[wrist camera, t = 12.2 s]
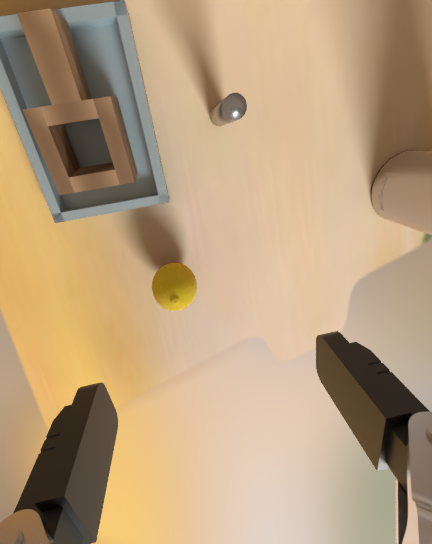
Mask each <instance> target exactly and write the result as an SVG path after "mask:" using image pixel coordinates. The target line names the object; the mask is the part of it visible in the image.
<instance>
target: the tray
mask: <svg viewBox="0 0 432 544" xmlns="http://www.w3.org/2000/svg"><path fill="white" fill-rule="evenodd" d="M52 10H53V11H54V12H56V13H57V14H58V15H59V16H61V17H62V18H63V19H64V20H66V21H67V22H68V26H69V29H70V32H71V35H72V38H73V41H74V45H75V48H76V51H77V54H78V57H79V60H80V64H81V67H82V70H83V73H84V76H85V79H86V83H87V86H88V89H89V92H90V95H91V99H95V98H102V97H108V96H116V97H117V98H118V102H119V106H120V109H121V113H122V117H123V120H124V124H125V128H126V131H127V135H128V139H129V142H130V146H131V150H132V153H133V157H134V161H135V164H136V168H137V172H138V173H137V176H136V179H135V182H133V183H128V184H122V185H116V186H110V187H105V188H99V189H93V190H87V191H81V192H76V193H70V194H64V195H59V193H58V190H57V188H56V186H55V183H54V181H53V179H52V176H51V174H50V172H49V170H48V167H47V165H46V163H45V160H44V158H43V156H42V154H41V151H40V149H39V147H38V144H37V142H36V140H35V138H34V135H33V133H32V131H31V128H30V126H29V124H28V122H27V119H26V117H25V115H24V112H23V109H29V108H36V107H42V106H49V105H52V104H51V101H50V99H49V96H48V94H47V91H46V88H45V86H44V83H43V80H42V78H41V75H40V73H39V70H38V67H37V65H36V62H35V60H34V57H33V54H32V52H31V49H30V47H29V44H28V41H27V39H26V36H25V34H24V31H23V28H22V26H21V23H20V21H19V18H18V15H17V14H14V15H6V16H0V89H1V91H2V94H3V96H4V99H5V101H6V103H7V106H8V108H9V111H10V113H11V116H12V118H13V121H14V123H15V126H16V128H17V130H18V133H19V135H20V138H21V140H22V143H23V145H24V148H25V150H26V153H27V155H28V157H29V160H30V162H31V165H32V167H33V170H34V172H35V175H36V177H37V180H38V182H39V184H40V187H41V189H42V192H43V194H44V197H45V199H46V202H47V204H48V206H49V209H50V211H51V214H52V216H53V219H54V221H55V223H58V222H63V221H69V220H75V219H80V218H86V217H91V216H97V215H102V214H108V213H113V212H119V211H124V210H130V209H135V208H141V207H146V206H152V205H157V204H163V203H168V202H169V196H168V191H167V186H166V182H165V177H164V173H163V168H162V164H161V159H160V155H159V150H158V146H157V141H156V136H155V132H154V127H153V123H152V118H151V114H150V109H149V105H148V100H147V95H146V91H145V86H144V82H143V77H142V73H141V68H140V64H139V59H138V55H137V50H136V45H135V41H134V36H133V32H132V27H131V23H130V18H129V14H128V10H127V7H126V4H125V1H124V0H120V1H113V2H105V3H98V4H90V5H82V6H75V7H67V8H60V9H52ZM64 127H65V129H66V132H67V135H68V137H69V140H70V143H71V145H72V148H73V150H74V153H75V156H76V158H77V161H78V164H79V166H80V168H83V167H89V166H95V165H101V164H107V163H113V162H112V159H111V155H110V152H109V149H108V146H107V143H106V139H105V136H104V133H103V130H102V127H101V123H100V120H99V118H97V119H91V120H84V121H78V122H72V123H65V124H64Z"/></svg>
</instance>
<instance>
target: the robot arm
mask: <svg viewBox="0 0 432 544" xmlns="http://www.w3.org/2000/svg"><path fill="white" fill-rule="evenodd" d="M371 194H372V204H373V207H374V209H375V211H376V212H377V213H378V215H379V216H381V217H383V218H384V219H387V220H390V221H393V222H396V223H399V224H401V225H404V226H407V227H410V228H412V229H415V230H418V231H421V232H424V233H427V234H430V235H432V151H406V152H403V153H400V154H398V155H396V156H395V157H393V158H392V159H390V160H389V161H388V162H387V163H386V164H385V165H384V166H383V167H382V169H381V170H380V171H379V173H378V175H377V177H376V178H375V181H374V184H373V188H372V193H371ZM316 368H317V373H318V376H319V378H320V380H321V383H322V384H323V385H324V387H325V389H326V390H327V392H328V394H329V395H330V397H331V398H332V400H333V402H334V403H335V405H336V406H337V408H338V410H339V411H340V413H341V414H342V416H343V417H344V419H345V421H346V422H347V424H348V425H349V427H350V429H351V430H352V432H353V433H354V435H355V436H356V438H357V439H358V441H359V443H360V444H361V446H362V447H363V449H364V451H365V452H366V454H367V456H368V457H369V459H370V460H371V462H372V463H373V465H374V466H375V468H376V470H377V471H380V470H383V469H388V468H390V469H391V471H392V472H393V474H394V475H395V477H396V544H432V412H430V411H429V410H428V409H427V408H426V407H425V406H424V405H423V404H422V403H421V402H420V401H419V400H418V399H417V398H416V397H415V396H414V395H413V394H412V393H411V392H410V391H409V390H408V389H407V388H406V387H405V386H404V385H403V384H402V382H400V380H399V379H398V378H397V377H396V376H395V375H394V374H393V373H392V372H390V371H389V369H388V368H387V367H386V366H385V365H384V364H383V363H381V361H380V360H379V359H378V358H377V357H376V356H375V355H374V354H373V353H372V352H371V351H370V350H369V349H367V348H366V347H364V346H362V345H360V344H359V343H357V342H354V343H349V342H348V341H347V340H346V339H345V338H344V337H343V335H342V334H341V333H339V332H338V331H336V332H332V333H327V334H322V335H318V336H317V338H316ZM117 428H118V418H117V413H116V410H115V407H114V405H113V403H112V401H111V398H110V396H109V394H108V392H107V389H106V387H105V385H104V384H103V383H97V384H93V385H88V386H84V387H80V388H79V389H78V390H77V393H76V395H75V398H74V400H73V403H72V405H69V406H65V407H64V408H63V409H62V411H61V412H60V413H59V414H58V416H57V417H56V418H55V419H54V421H53V422H52V425H51V427H50V429H49V432H48V434H47V439H46V440H45V441H44V444H43V446H42V448H41V453H40V454H39V455H38V458H37V460H36V462H35V465H34V467H33V469H32V472H31V474H30V476H29V479H28V481H27V483H26V486H25V488H24V490H23V493H22V495H21V497H20V500H19V502H18V504H17V507H16V509H15V511H14V513H13V514H12V515H10V516H8V517H7V518H6V519H4V520H3V521H2V522H1V523H0V544H91V543H94V542H96V540H97V534H98V529H99V524H100V518H101V513H102V508H103V503H104V497H105V492H106V487H107V481H108V476H109V471H110V466H111V460H112V455H113V450H114V445H115V439H116V434H117Z"/></svg>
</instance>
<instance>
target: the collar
mask: <svg viewBox="0 0 432 544" xmlns="http://www.w3.org/2000/svg"><path fill="white" fill-rule="evenodd" d="M17 15H18V18H19V21H20V23H21V26H22V28H23V31H24V34H25V36H26V39H27V41H28V44H29V47H30V49H31V52H32V54H33V57H34V60H35V62H36V65H37V67H38V70H39V73H40V75H41V78H42V80H43V83H44V86H45V88H46V91H47V94H48V96H49V99H50V101H51V104H52V105H49V106H42V107H36V108H29V109H23V112H24V115H25V117H26V119H27V122H28V124H29V126H30V128H31V131H32V133H33V135H34V138H35V140H36V142H37V144H38V147H39V149H40V151H41V154H42V156H43V158H44V160H45V163H46V165H47V167H48V170H49V172H50V174H51V176H52V179H53V181H54V183H55V186H56V188H57V190H58V193H59V195H64V194H70V193H76V192H81V191H87V190H93V189H99V188H105V187H110V186H116V185H122V184H128V183H133V182H135V179H136V176H137V173H138V172H137V168H136V164H135V161H134V157H133V153H132V150H131V146H130V142H129V139H128V135H127V131H126V128H125V124H124V120H123V117H122V113H121V109H120V106H119V102H118V98H117V97H116V96H108V97H102V98H95V99H91V95H90V92H89V89H88V86H87V83H86V79H85V76H84V73H83V70H82V67H81V64H80V60H79V57H78V54H77V51H76V48H75V45H74V41H73V38H72V35H71V32H70V29H69V26H68V22H67V21H66V20H64V19H63V18H62V17H61V16H59V15H58V14H57V13H56V12H54V11H53V10H52V9H51V8H49V9H41V10H33V11H26V12H18V13H17ZM97 118H99V120H100V123H101V127H102V130H103V133H104V136H105V139H106V143H107V146H108V149H109V152H110V155H111V159H112V162H113V163H107V164H101V165H95V166H89V167H83V168H80V166H79V164H78V161H77V158H76V156H75V153H74V150H73V148H72V145H71V143H70V140H69V137H68V135H67V132H66V129H65V127H64V124H65V123H72V122H78V121H84V120H91V119H97Z"/></svg>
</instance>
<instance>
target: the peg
mask: <svg viewBox="0 0 432 544" xmlns="http://www.w3.org/2000/svg"><path fill="white" fill-rule="evenodd" d="M246 107H247V105H246V101H245V99H244V97H243V96H242V95H241V94H239V93H232V94H230V95H228V96H227V97H226V98H225V99H224V100H222V101H221V102H220V103H219V104H218V105H217V106H216V107H214V108H213V109H212V111H211V114H210V119H211V121H212V123H213V124H214V125H216V126H222V125H225V124H227V123H230V122H233V121H235V120H238V119H240V118H242V117H243V115H244V114H245V112H246Z"/></svg>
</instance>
